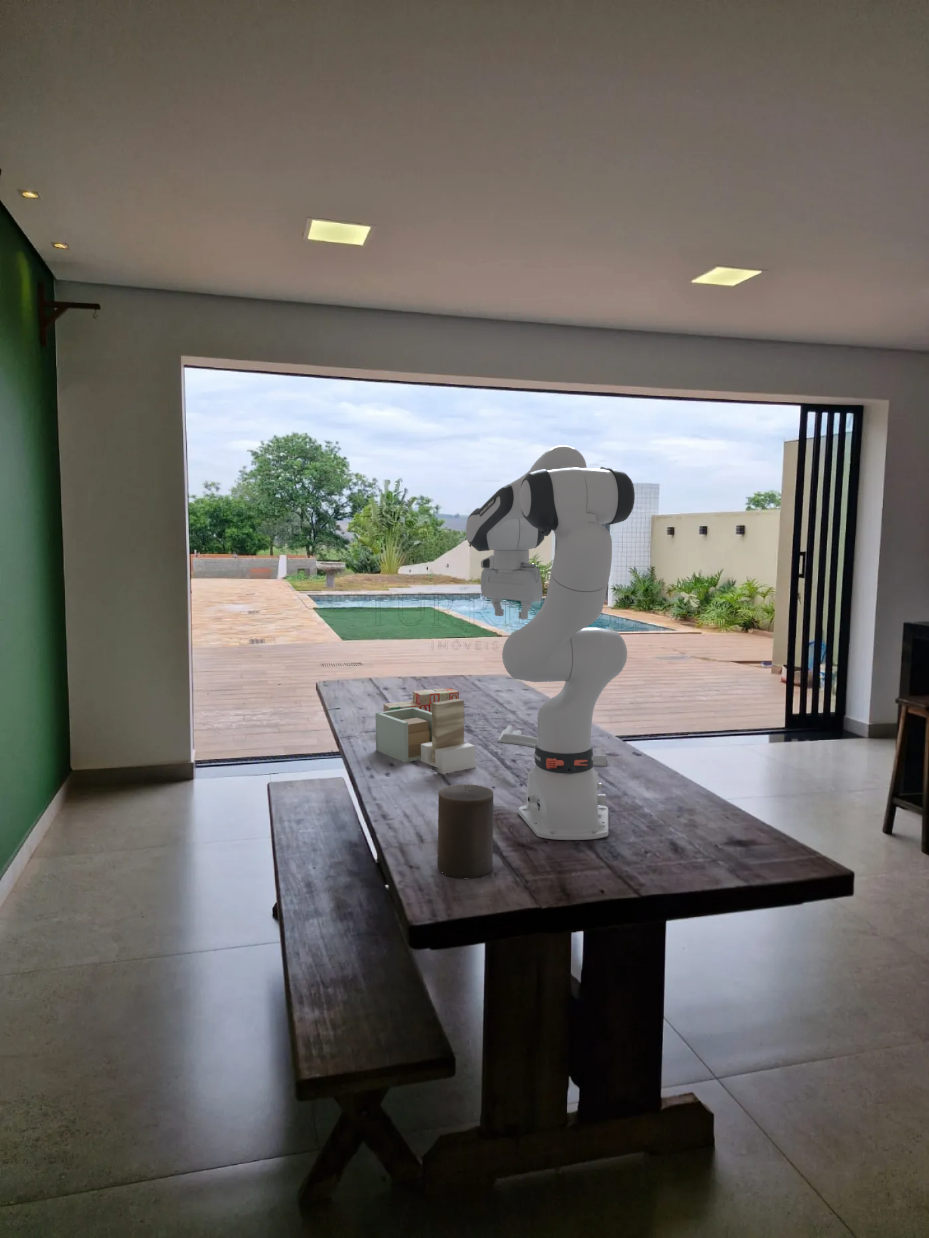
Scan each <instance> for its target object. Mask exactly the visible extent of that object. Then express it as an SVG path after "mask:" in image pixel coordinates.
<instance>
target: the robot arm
mask: <svg viewBox="0 0 929 1238" xmlns="http://www.w3.org/2000/svg"><path fill="white" fill-rule="evenodd" d="M634 487H635V486H634V483H633V481H632V479H631V478H630V477H629V475H628V474H627V473H625V472H624V471H622V470H618V469H615V468H609V467H604V466H600V467H599V468H598V467H597V468H596V467H591V468H590V467H587V463H586V459H585V457H584V456H583V454H582V453H581V452H580V451H579V450H578V449H576V448H575V447H572V446H570V445H564V444H563V445H555V446H554V447H551V448H550V449H548V450H547V451H545V452H544V453H543V454H542V455H541V456H540V457H539V458H538V459H537V460H536V461H535V462H534V463H533V465H532V466H531V468H530V469H529V470H528V471H527V472H526V473H525V474H523V475H522V476H520V477H519V478H518V479H516V480H514V481H512V482H511V483H509V484H506V485H504V486H503V487H501V488H500V489H498V490H497V491H496V492H495V493H494V494H492V496H491V497H490V498H489V499H488V500H487V501H486V502H484V504H483V505H482V506H481V507H476V508H475V509H474V510H472V512H471V513H470V515H468V518H467V520H466V526H465V534H466V540H467V542H468V543H469V545H470V546H471V547H473V548H474V549H475V550H476V551H477V552H488V551H493V554H491V555H490V556H487V557H486V558H484V559H481V561H480V567H481V569H482V571H481V575H480V590H481V592H480V593H481V594H482V596H483V597H484V598H491V604H492V606H493V609H494V615H495V616H496V617H503V616H504V611H505V609H504V608H502V604H501V602H502V599H503V600H511V601H519V602H520V606H522V607H521V610H520V611H518V619H519V620H528V619H529V617H528V616H529V612H530V609H531V607H532V602H533V603H535V602H537V603H538V602H541V600H542V599H543V593H544V592H543V583H542V575H541V570H540V568H539V567H538V565H537V564H536V563H533V562H531V563H530V550H532V549H536V548H537V547H539V546H540V545H541V543H542V542H543V541H544V540H545V537H548V536H549V535H550V534H551V532H552V531H553V533H554V535H555V538H556V546H555V547H556V548H555V553H554V555H553V556H554V557H553V561H552V566H551V572H550V577H549V582H548V586H547V592H546V595H545V598H544V602H543V604H542V606H541V608H540V609H539V611H538V612H537V613H536V614H535V616H533V618H532V619H531V620H529V622H527V623H526V624H525V625H524V626H522V627H521V628H519V629H517V630H515V631H514V632H512V633H510V635H509V636H508V637H507V638H506V640H505V642H504V643H503V646H502V647H503V648H502V652H501V653H502V654H501V655H502V663H503V666H504V668H505V670H506V672H507V673H508V674H509V675H510V677H512V678H513V679H514V680H520V681H524V682H525V681H526V682H532V683H548V682H550V683H551V682H553V683H555V682H564V685H563V687H562V689H561V691H559V692H558V694H557V695H555V696H553V697H552V698H550V699H548V700H546V701H545V702H544V703H543V704H542V705H541V706H540V708H539V709H538V712H537V716H536V717H537V722H536V723H537V725H536V728H537V736H536V738H537V745H536V746H535V748H534V763H535V765H534V767H533V768H532V770H530V771H529V772H528V773H527V781H526V782H527V785H526V805H525V804H524V805H522V806H519V807H518V810H517V813H518V815H519V816H520V817H521V818H522V819H523V821H524V822H525V823H526V825H528V827H529V828H530V829H531V830H532V832H533V833H534V834H535V835H536V836H537V837H538V838H542V839H550V840H557V841H558V840H561V841H563V840H564V841H581V840H582V841H584V840H596V839H602V838H606V837H608V836H609V834H610V833H609V832H610V831H609V829H610V828H609V827H610V825H609V824H610V823H609V807H608V806H607V804H606V803H607V796H606V795H607V794H605V793H599V791H600V790H601V791H602V790H603V782H599V772H598V771H597V770H596V769H594V766H593V758H594V756H593V755H594V752H593V750H594V749H593V747H592V745H591V743H592V728H593V727H592V724H593V715H594V709H595V706H596V703H597V702H598V699H599V697H600V696H601V693H602V692H603V691H604V689H605V687H607V685H608V684H609V683H610V682H611V681H612V680H613V679H614V678H616V677H617V676H619V674H620V673H622V671H623V670H624V668H625V666H626V663H627V661H628V660H627V658H628V649H627V645H626V644H627V643H626V642H625V640H624V639H623V636H622V635H621V634H620V633H619V632H618V631H617V630H612V629H608V628H603V627H595V626H591V625H592V624H594V623H595V622H596V621H597V620H598V618H599V617H600V616H601V614H602V612H603V608H604V604H605V601H606V600H605V599H606V595H607V594H606V593H607V591H608V585H609V581H610V575H611V570H612V561H613V560H612V559H613V537H612V536H611V534H610V531H609V530H608V528H606V526H604V525H608V526H610V525H614V524H615V525H616V524H619V523H622V522H624V521H626V520H627V519H628V518H629V517H630V515H631V513H632V511H633V510H634V505H635V496H636V495H635V494H636V493H635V488H634ZM588 626H589V627H588Z"/></svg>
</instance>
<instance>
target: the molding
mask: <svg viewBox="0 0 929 1238" xmlns="http://www.w3.org/2000/svg"><path fill="white" fill-rule="evenodd" d="M500 733H501V734H500V735H499V737H498V738H497V743H500V742H503V744H510V745H511V744H513V745H514V744H515V745H520V746H526V747H531V748H533V749H535V746H536V745H537V736H536V737H535V736H529V735H525V734H523V731H521V729H516V730H514V726H513V725H511V724H508V725H507V727H506V728H505V729H503V730H502V731H501V732H500ZM593 756H594V758H593V767H595V766H596V767H598V766H599V767H607V754H593Z"/></svg>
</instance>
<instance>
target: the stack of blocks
mask: <svg viewBox="0 0 929 1238" xmlns="http://www.w3.org/2000/svg"><path fill="white" fill-rule="evenodd" d="M454 699H460V692H459V691H458V690H457V689H453V688H432V689H423V690H412V701H399V702H389V703H388V702H387V703H383V704H382V705H383V709H382V710H383V711H382V712H385V711H392V710H398V709H405V708H411V707H415V708H419V709H422V710H425V711H428V712H431V713H432V703H434V702H441V701H447V700H454Z"/></svg>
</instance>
